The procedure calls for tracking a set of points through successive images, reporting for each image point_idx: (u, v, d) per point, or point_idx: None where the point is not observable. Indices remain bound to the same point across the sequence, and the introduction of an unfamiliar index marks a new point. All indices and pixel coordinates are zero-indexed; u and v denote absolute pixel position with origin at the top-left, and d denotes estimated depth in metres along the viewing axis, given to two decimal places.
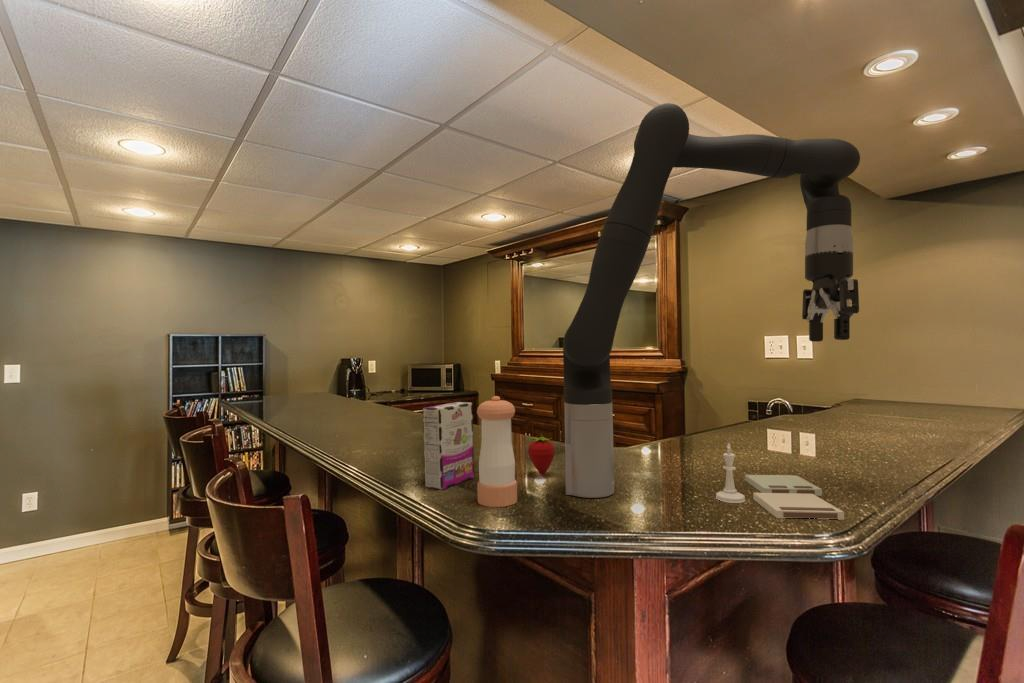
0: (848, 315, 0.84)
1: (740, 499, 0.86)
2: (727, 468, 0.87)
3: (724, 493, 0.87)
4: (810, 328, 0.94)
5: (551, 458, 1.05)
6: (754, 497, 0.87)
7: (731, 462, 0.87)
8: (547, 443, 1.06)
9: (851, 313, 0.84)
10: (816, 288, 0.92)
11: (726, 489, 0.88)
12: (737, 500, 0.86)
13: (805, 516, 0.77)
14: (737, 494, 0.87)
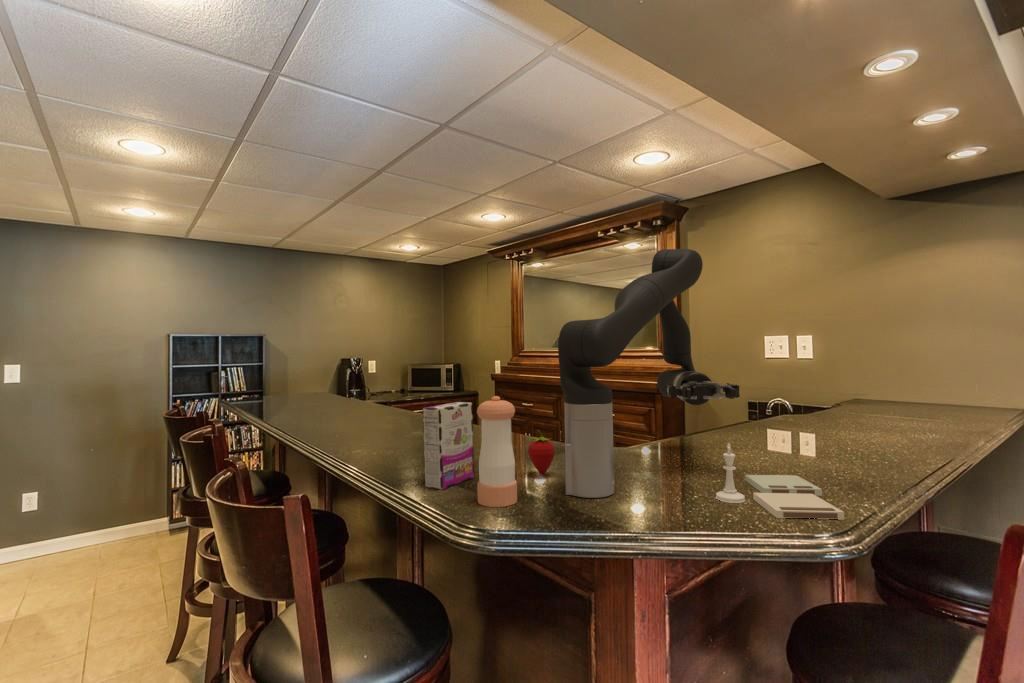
0: None
1: (740, 499, 0.86)
2: (727, 468, 0.87)
3: (724, 493, 0.87)
4: (686, 387, 1.02)
5: (551, 458, 1.05)
6: (754, 497, 0.87)
7: (731, 462, 0.87)
8: (547, 443, 1.06)
9: (736, 393, 1.03)
10: None
11: (726, 489, 0.88)
12: (737, 500, 0.86)
13: (805, 516, 0.77)
14: (737, 494, 0.87)
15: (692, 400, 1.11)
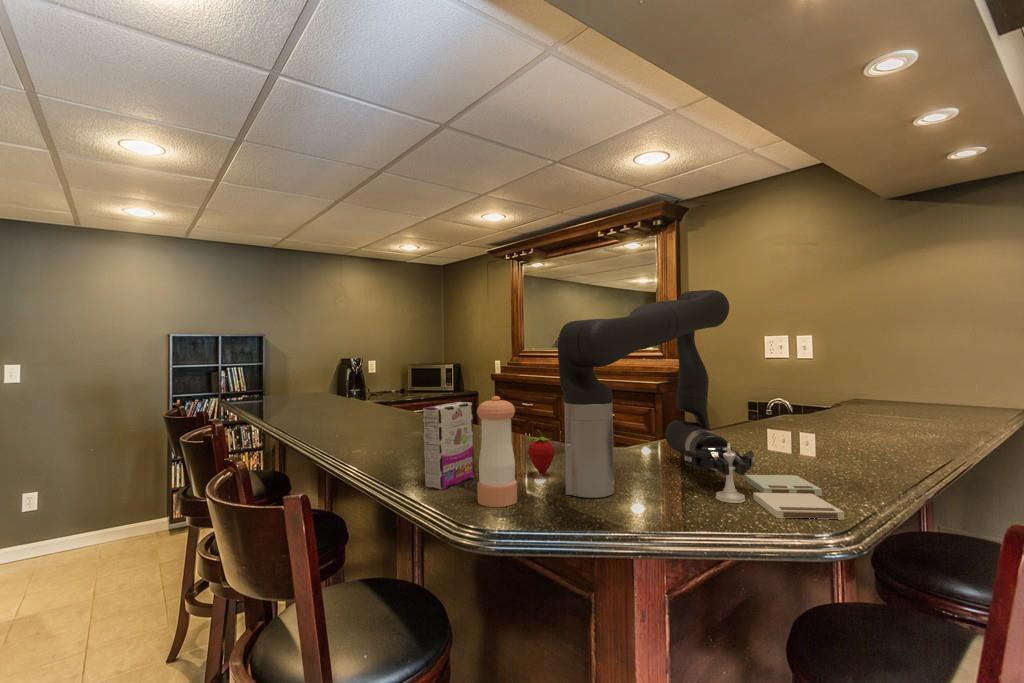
0: None
1: (740, 499, 0.86)
2: None
3: (724, 493, 0.87)
4: (723, 460, 0.88)
5: (551, 458, 1.05)
6: (754, 497, 0.87)
7: (731, 462, 0.87)
8: (547, 443, 1.06)
9: (746, 466, 0.89)
10: (705, 450, 0.96)
11: (726, 489, 0.88)
12: (737, 500, 0.86)
13: (805, 516, 0.77)
14: (737, 494, 0.87)
15: None
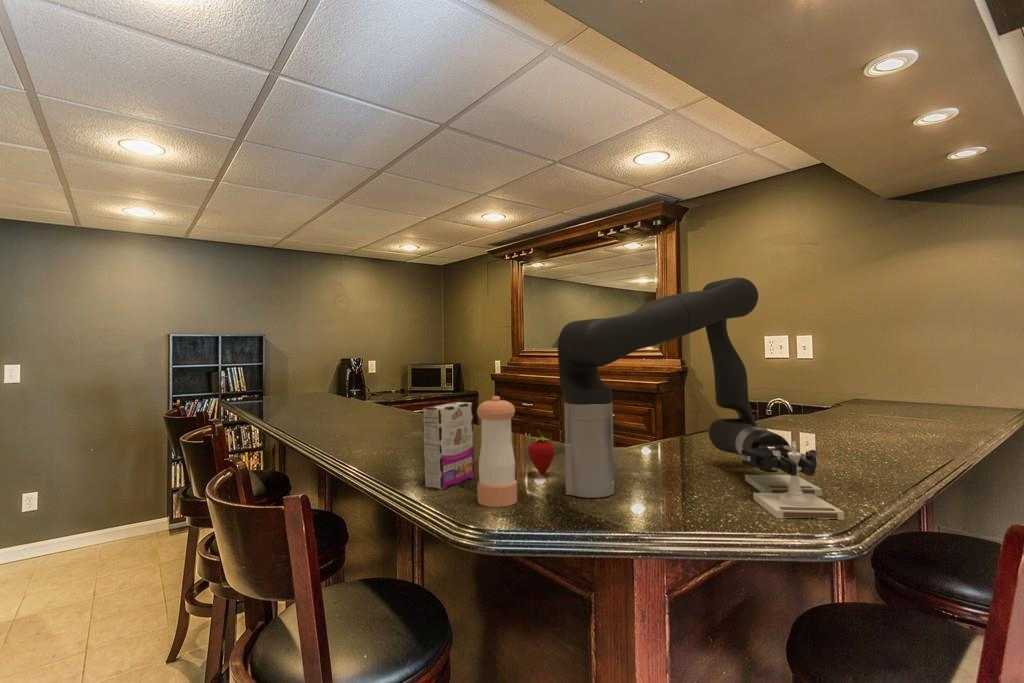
0: None
1: (808, 501, 0.80)
2: None
3: (789, 495, 0.82)
4: (788, 459, 0.82)
5: (551, 458, 1.05)
6: (754, 497, 0.87)
7: (797, 462, 0.82)
8: (547, 443, 1.06)
9: None
10: (763, 449, 0.90)
11: (791, 491, 0.82)
12: (805, 502, 0.80)
13: (805, 516, 0.77)
14: (804, 496, 0.81)
15: None
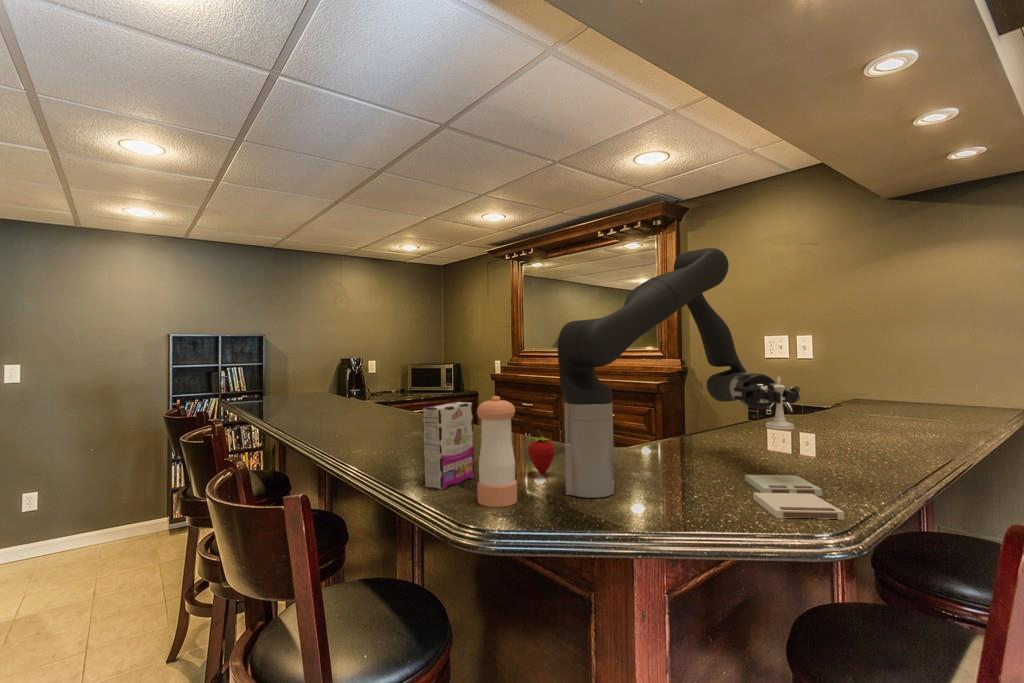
0: None
1: (790, 426, 0.92)
2: None
3: (774, 421, 0.94)
4: (773, 391, 0.94)
5: (551, 458, 1.05)
6: (754, 497, 0.87)
7: (781, 393, 0.94)
8: (547, 443, 1.06)
9: None
10: (753, 387, 1.03)
11: (776, 418, 0.94)
12: (787, 426, 0.92)
13: (805, 516, 0.77)
14: (787, 422, 0.94)
15: (755, 403, 1.04)
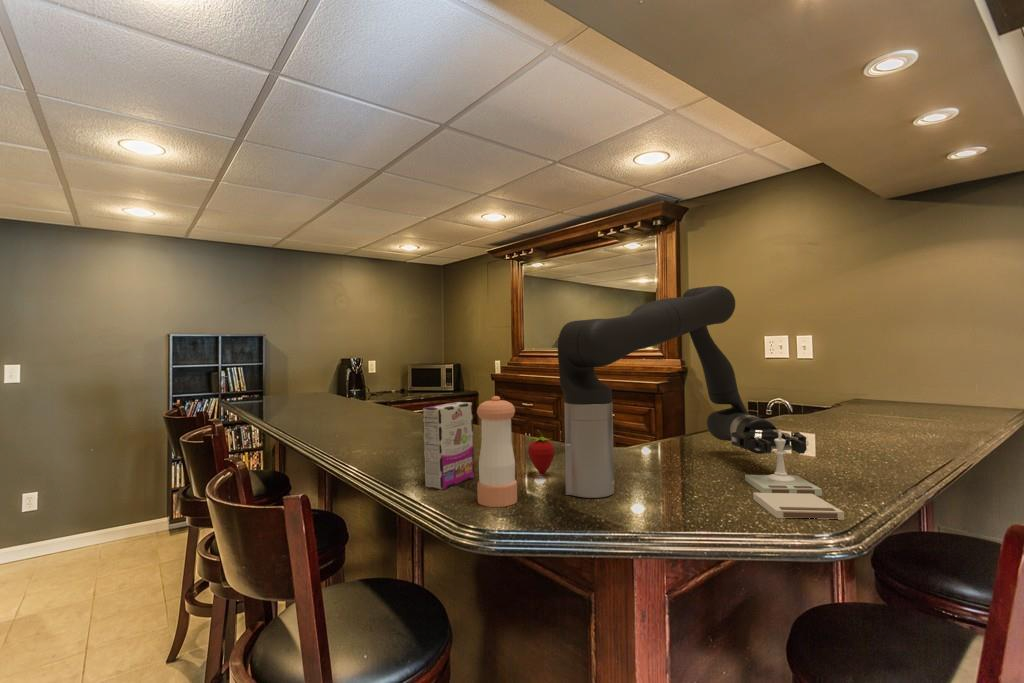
0: None
1: (791, 481, 0.92)
2: (778, 452, 0.94)
3: (775, 476, 0.94)
4: (764, 439, 0.95)
5: (551, 458, 1.05)
6: (754, 497, 0.87)
7: (782, 447, 0.94)
8: (547, 443, 1.06)
9: None
10: (753, 432, 1.03)
11: (777, 472, 0.94)
12: (788, 482, 0.92)
13: (805, 516, 0.77)
14: (788, 476, 0.93)
15: None
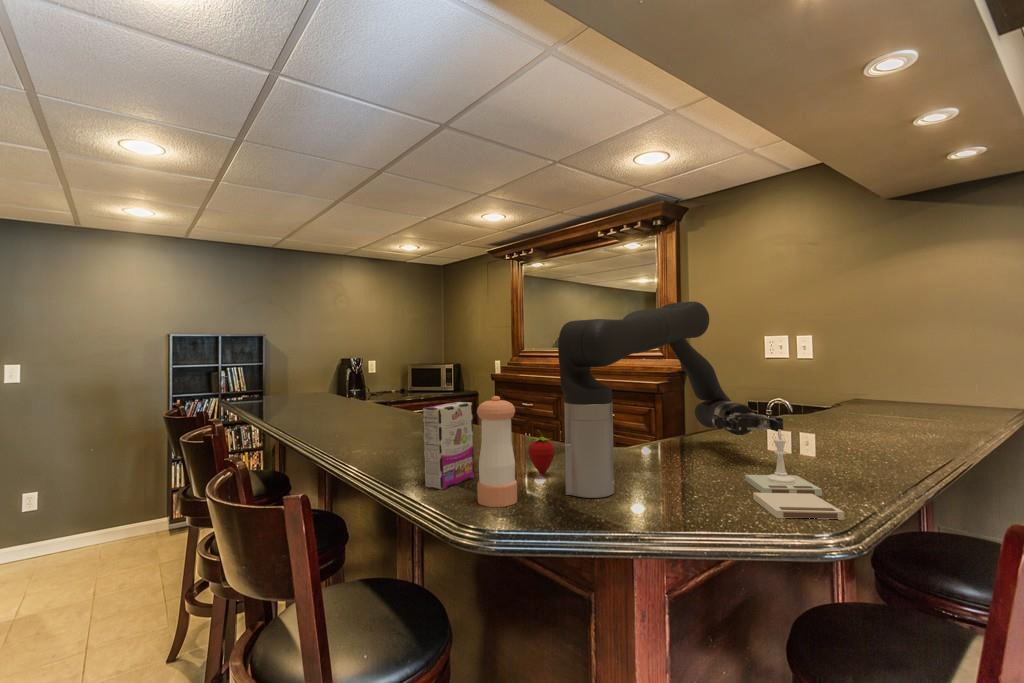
0: None
1: (791, 481, 0.92)
2: (778, 452, 0.94)
3: (775, 476, 0.94)
4: (734, 419, 1.08)
5: (551, 458, 1.05)
6: (754, 497, 0.87)
7: (782, 447, 0.94)
8: (547, 443, 1.06)
9: None
10: None
11: (777, 472, 0.94)
12: (788, 482, 0.92)
13: (805, 516, 0.77)
14: (788, 476, 0.93)
15: (735, 430, 1.17)
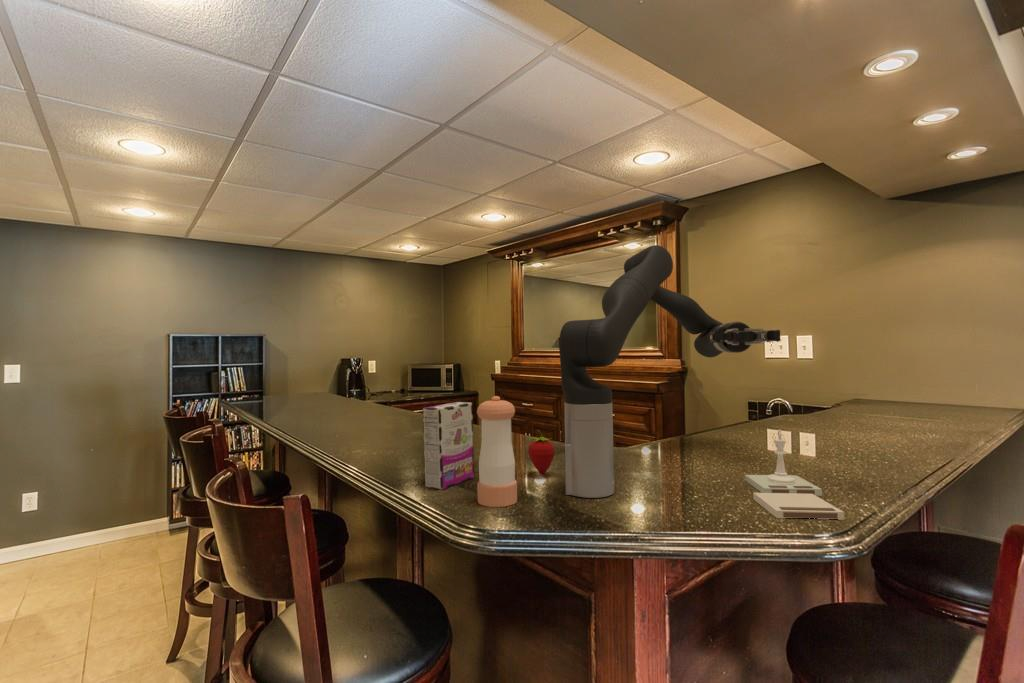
0: None
1: (791, 481, 0.92)
2: (778, 452, 0.94)
3: (775, 476, 0.94)
4: (731, 331, 1.09)
5: (551, 458, 1.05)
6: (754, 497, 0.87)
7: (782, 447, 0.94)
8: (547, 443, 1.06)
9: (778, 337, 1.10)
10: None
11: (777, 472, 0.94)
12: (788, 482, 0.92)
13: (805, 516, 0.77)
14: (788, 476, 0.93)
15: (733, 347, 1.18)
